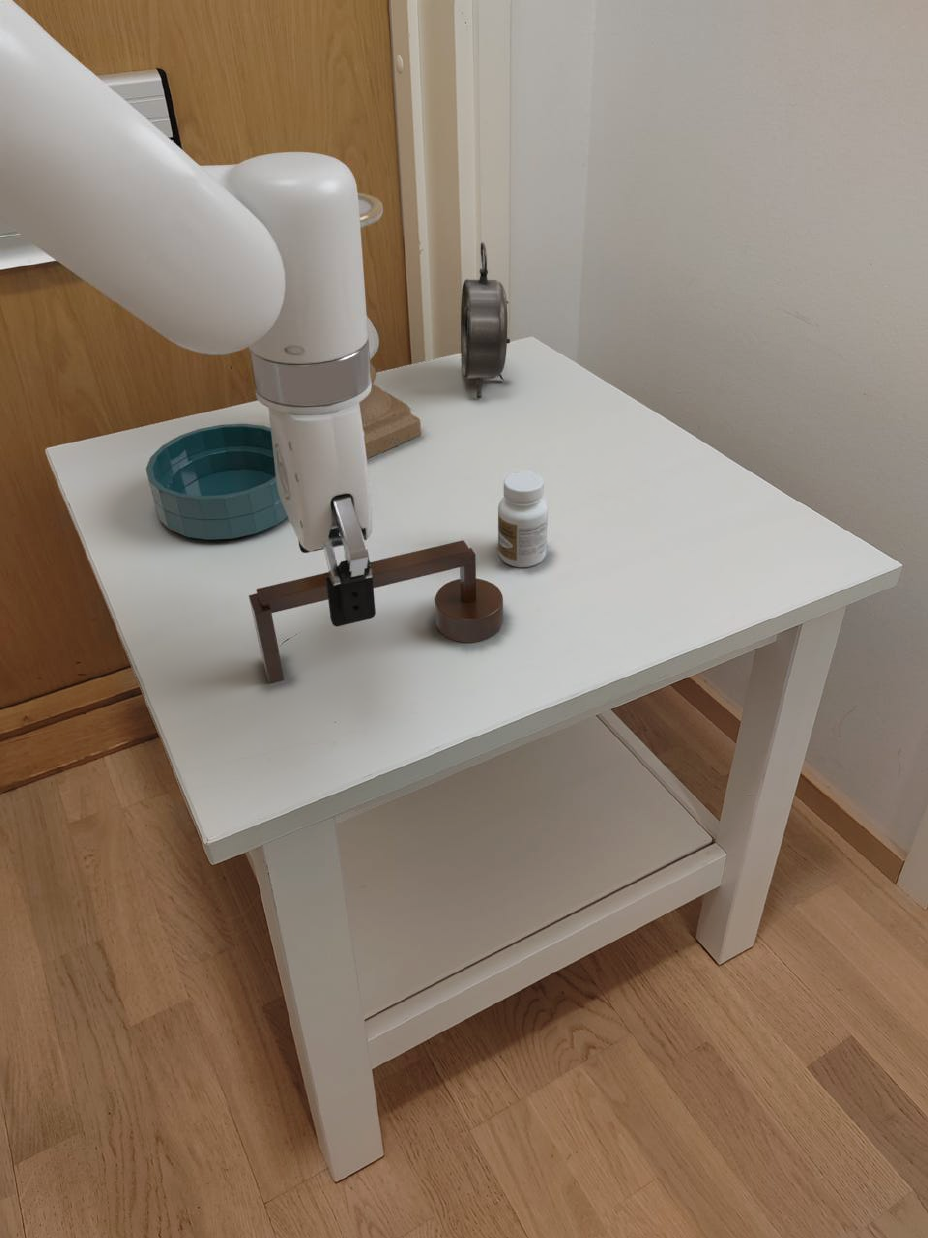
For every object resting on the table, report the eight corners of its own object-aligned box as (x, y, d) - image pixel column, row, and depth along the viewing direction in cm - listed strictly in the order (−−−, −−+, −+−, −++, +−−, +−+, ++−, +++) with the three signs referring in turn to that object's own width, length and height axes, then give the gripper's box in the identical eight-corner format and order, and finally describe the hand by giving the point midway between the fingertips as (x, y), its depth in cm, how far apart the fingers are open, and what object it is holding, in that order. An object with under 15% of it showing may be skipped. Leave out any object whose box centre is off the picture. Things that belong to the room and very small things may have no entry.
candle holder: (363, 401, 111) (342, 182, 96) (423, 434, 104) (410, 205, 89) (284, 432, 105) (247, 206, 90) (341, 469, 99) (312, 232, 84)
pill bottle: (491, 545, 88) (491, 472, 83) (536, 536, 89) (538, 463, 84) (507, 572, 84) (507, 498, 79) (553, 563, 85) (557, 488, 80)
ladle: (487, 593, 82) (487, 518, 77) (513, 632, 78) (514, 556, 73) (259, 652, 77) (242, 575, 72) (273, 696, 73) (257, 619, 68)
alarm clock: (460, 363, 118) (456, 228, 108) (503, 361, 118) (504, 226, 108) (465, 404, 110) (462, 261, 99) (512, 401, 110) (513, 259, 99)
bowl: (168, 558, 87) (156, 512, 84) (150, 483, 98) (138, 439, 94) (319, 524, 91) (312, 479, 88) (286, 455, 101) (279, 413, 98)
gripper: (229, 327, 66) (263, 533, 77) (283, 438, 54) (315, 665, 65) (334, 312, 69) (353, 514, 79) (409, 415, 56) (420, 639, 67)
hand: (336, 582), depth 72 cm, fingers open, 9 cm apart
